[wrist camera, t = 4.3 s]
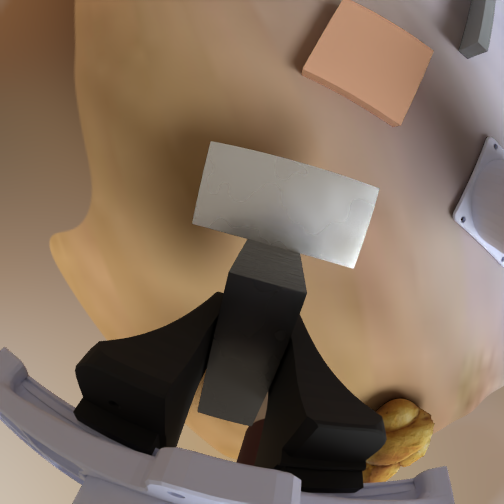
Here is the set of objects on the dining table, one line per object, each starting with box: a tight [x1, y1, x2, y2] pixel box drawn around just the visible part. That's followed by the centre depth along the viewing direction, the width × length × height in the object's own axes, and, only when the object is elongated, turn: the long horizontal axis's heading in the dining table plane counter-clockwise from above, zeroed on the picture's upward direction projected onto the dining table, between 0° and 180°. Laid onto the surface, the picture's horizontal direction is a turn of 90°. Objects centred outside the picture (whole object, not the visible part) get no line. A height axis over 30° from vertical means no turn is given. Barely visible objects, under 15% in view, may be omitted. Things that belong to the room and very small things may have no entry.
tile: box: [302, 0, 434, 127], centre depth 13 cm, size 7×7×2 cm
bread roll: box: [362, 399, 435, 483], centre depth 22 cm, size 13×10×8 cm
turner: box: [192, 141, 379, 426], centre depth 11 cm, size 11×8×6 cm
